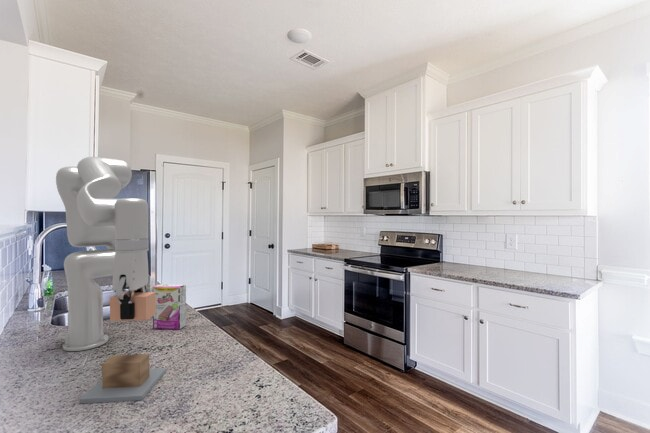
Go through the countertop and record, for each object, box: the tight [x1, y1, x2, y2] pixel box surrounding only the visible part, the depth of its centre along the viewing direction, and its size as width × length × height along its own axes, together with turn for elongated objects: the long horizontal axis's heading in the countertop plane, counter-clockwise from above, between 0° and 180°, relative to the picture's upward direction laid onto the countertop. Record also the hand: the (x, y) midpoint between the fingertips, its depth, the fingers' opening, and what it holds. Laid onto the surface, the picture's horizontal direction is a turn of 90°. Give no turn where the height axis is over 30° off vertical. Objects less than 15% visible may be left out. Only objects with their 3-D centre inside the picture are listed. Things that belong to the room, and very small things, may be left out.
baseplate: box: [78, 367, 167, 404], centre depth 84 cm, size 14×14×1 cm
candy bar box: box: [152, 283, 187, 331], centre depth 127 cm, size 11×5×16 cm, turn 84°
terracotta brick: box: [109, 291, 156, 322], centre depth 85 cm, size 9×5×6 cm, turn 92°
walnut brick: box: [101, 353, 150, 388], centre depth 84 cm, size 9×5×6 cm, turn 95°
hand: (133, 314), depth 85 cm, fingers closed on terracotta brick, 5 cm apart
